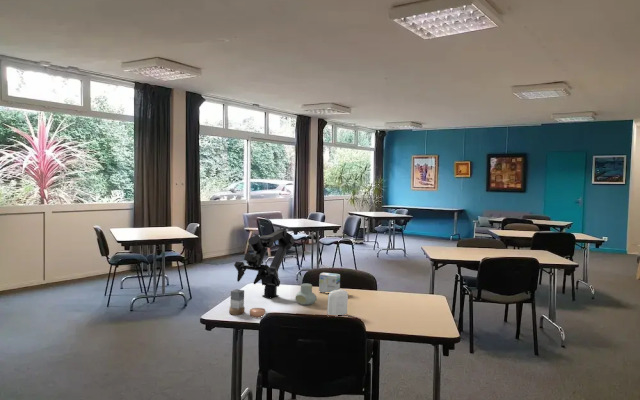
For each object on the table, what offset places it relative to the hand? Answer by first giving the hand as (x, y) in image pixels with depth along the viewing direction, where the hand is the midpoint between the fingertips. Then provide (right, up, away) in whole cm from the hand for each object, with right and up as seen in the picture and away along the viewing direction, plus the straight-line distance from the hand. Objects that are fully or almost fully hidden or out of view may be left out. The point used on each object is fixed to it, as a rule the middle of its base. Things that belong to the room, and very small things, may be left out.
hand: (245, 282), depth 211 cm
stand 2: (+7, -14, -8) cm, 17 cm away
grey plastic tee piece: (+29, -14, +14) cm, 35 cm away
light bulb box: (+41, -13, +38) cm, 58 cm away
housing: (-3, -11, -6) cm, 13 cm away
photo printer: (+44, -15, -4) cm, 47 cm away
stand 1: (-3, -13, -6) cm, 15 cm away
